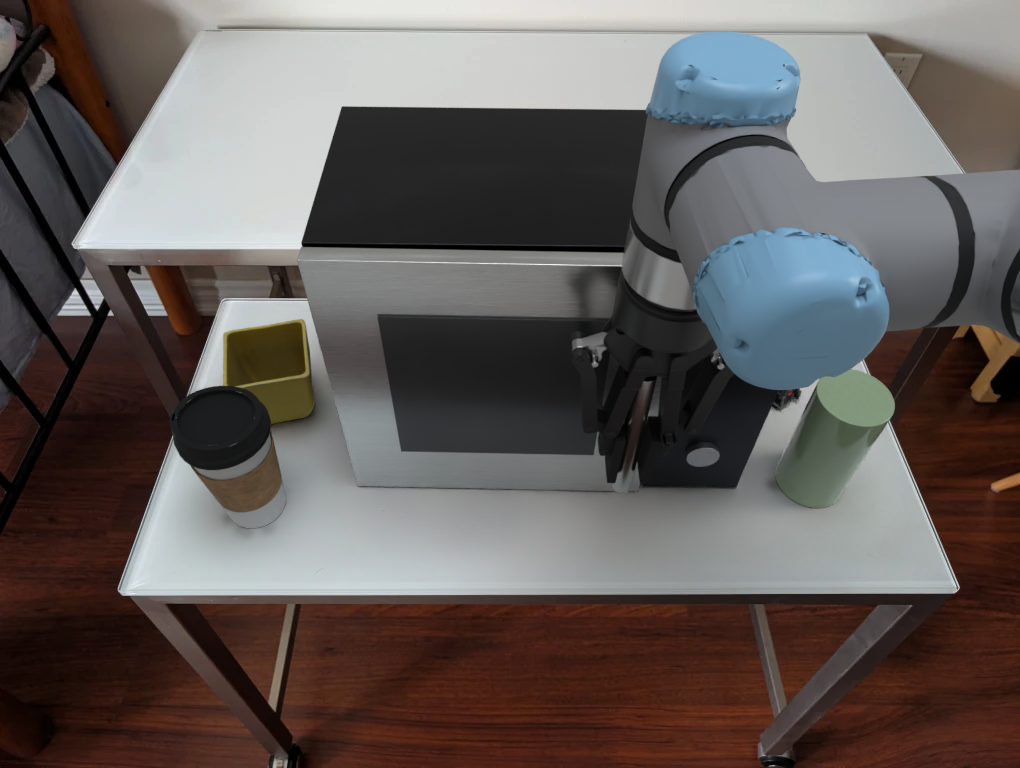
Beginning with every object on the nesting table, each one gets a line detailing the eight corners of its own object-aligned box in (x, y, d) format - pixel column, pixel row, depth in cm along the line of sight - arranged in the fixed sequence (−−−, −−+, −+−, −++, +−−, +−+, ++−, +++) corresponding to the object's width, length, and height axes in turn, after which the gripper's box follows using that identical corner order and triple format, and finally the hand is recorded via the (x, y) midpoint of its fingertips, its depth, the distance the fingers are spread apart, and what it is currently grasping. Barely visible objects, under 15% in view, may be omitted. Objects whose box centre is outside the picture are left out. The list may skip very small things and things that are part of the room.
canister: (850, 508, 78) (906, 426, 67) (784, 508, 77) (828, 426, 67) (831, 452, 82) (880, 368, 71) (768, 453, 82) (807, 368, 71)
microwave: (737, 495, 78) (838, 269, 55) (356, 491, 78) (294, 263, 55) (702, 341, 93) (771, 110, 69) (382, 338, 93) (341, 106, 69)
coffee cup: (221, 473, 80) (175, 381, 68) (301, 466, 80) (269, 374, 69) (209, 543, 74) (157, 457, 63) (296, 535, 75) (259, 448, 64)
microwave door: (642, 533, 75) (706, 313, 52) (350, 527, 75) (282, 306, 52) (636, 479, 80) (692, 253, 56) (359, 473, 80) (300, 246, 56)
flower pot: (245, 442, 82) (221, 390, 76) (244, 384, 88) (222, 330, 81) (325, 428, 84) (309, 375, 77) (319, 371, 89) (304, 317, 82)
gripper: (776, 243, 53) (703, 439, 71) (560, 238, 53) (541, 436, 71) (802, 318, 48) (716, 508, 66) (564, 313, 48) (543, 505, 66)
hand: (626, 470), depth 68 cm, fingers open, 2 cm apart
